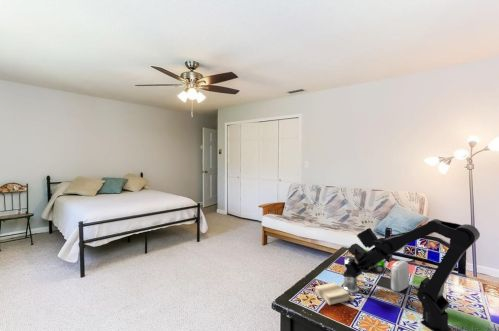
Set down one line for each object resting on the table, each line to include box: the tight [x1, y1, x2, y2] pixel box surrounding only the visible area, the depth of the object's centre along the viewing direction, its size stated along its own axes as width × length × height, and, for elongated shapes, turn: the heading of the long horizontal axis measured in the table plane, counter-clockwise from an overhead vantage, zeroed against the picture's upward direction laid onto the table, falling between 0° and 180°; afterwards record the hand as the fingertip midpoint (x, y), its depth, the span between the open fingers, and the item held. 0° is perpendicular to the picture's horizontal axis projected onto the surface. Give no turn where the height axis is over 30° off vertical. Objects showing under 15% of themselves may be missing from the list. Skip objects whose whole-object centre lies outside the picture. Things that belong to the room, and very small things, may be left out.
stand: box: [314, 281, 350, 306], centre depth 109 cm, size 10×10×3 cm
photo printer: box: [390, 260, 410, 292], centre depth 116 cm, size 10×4×12 cm, turn 123°
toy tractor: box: [353, 249, 386, 274], centre depth 136 cm, size 11×16×10 cm
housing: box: [342, 255, 360, 294], centre depth 115 cm, size 7×7×14 cm
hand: (349, 272), depth 115 cm, fingers open, 9 cm apart
